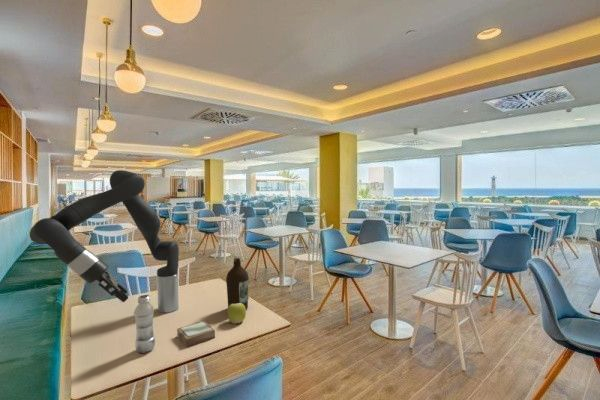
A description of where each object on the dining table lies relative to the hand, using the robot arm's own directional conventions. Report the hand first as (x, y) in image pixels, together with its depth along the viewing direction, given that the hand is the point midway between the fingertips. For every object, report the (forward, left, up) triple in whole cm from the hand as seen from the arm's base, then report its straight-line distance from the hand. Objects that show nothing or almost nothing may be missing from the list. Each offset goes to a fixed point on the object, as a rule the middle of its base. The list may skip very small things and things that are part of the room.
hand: (125, 296), depth 109 cm
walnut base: (+3, +24, -21) cm, 32 cm away
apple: (+1, +43, -21) cm, 48 cm away
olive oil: (-11, +50, -21) cm, 55 cm away
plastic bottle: (+1, +6, -21) cm, 22 cm away
